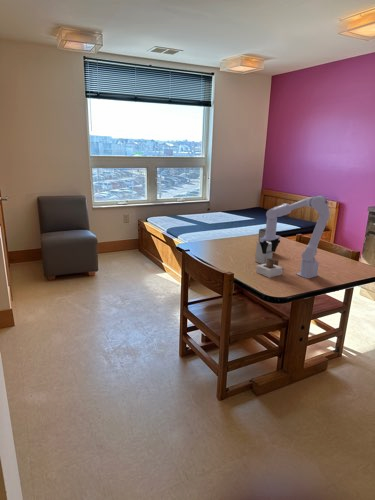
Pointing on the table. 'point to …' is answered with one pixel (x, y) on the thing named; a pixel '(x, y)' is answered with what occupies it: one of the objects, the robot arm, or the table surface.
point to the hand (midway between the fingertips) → (268, 252)
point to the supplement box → (262, 257)
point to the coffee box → (262, 234)
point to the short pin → (276, 262)
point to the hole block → (269, 270)
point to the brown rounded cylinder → (269, 263)
